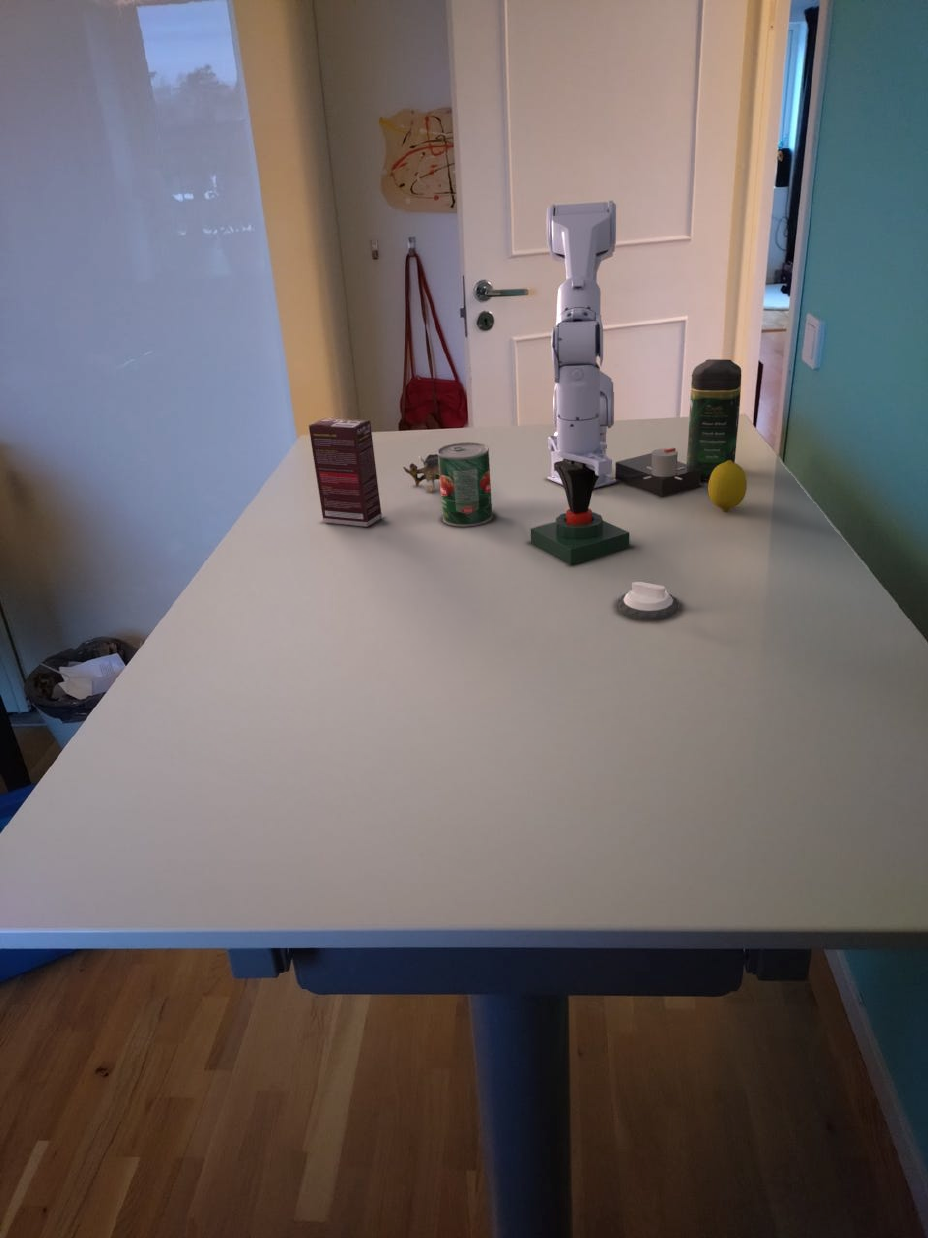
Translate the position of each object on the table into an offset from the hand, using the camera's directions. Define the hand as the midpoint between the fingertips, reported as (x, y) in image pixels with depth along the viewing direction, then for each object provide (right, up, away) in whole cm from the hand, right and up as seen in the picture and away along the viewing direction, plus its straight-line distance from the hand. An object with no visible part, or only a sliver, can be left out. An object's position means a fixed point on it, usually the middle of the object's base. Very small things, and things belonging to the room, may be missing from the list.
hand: (579, 511), depth 125 cm
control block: (0, -5, +2) cm, 5 cm away
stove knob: (+6, -14, -16) cm, 22 cm away
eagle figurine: (-21, +7, +29) cm, 37 cm away
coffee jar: (+26, +10, +27) cm, 38 cm away
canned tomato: (-16, +1, +15) cm, 22 cm away
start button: (0, -2, +1) cm, 2 cm away
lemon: (+24, +1, +10) cm, 26 cm away
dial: (+16, +8, +19) cm, 26 cm away
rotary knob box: (+16, +7, +23) cm, 29 cm away
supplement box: (-34, +1, +18) cm, 38 cm away
